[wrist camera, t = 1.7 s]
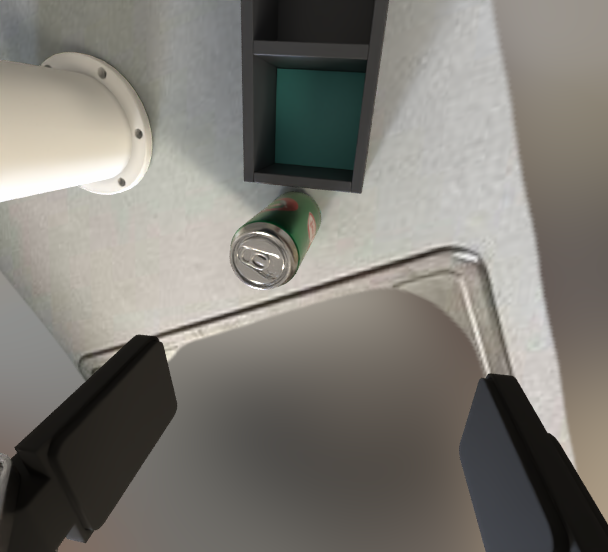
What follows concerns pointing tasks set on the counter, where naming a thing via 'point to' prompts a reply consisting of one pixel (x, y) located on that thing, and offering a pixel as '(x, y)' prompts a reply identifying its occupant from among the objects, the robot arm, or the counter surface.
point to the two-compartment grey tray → (309, 90)
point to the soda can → (275, 241)
